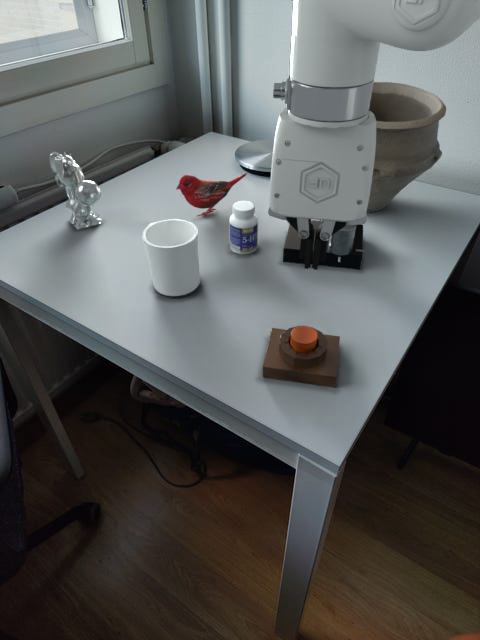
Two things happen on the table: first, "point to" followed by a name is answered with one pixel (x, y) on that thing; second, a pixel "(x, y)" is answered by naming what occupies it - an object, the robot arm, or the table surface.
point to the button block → (302, 359)
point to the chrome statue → (76, 190)
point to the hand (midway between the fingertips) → (311, 262)
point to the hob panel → (331, 260)
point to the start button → (303, 339)
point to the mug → (173, 257)
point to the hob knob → (342, 240)
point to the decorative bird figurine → (205, 191)
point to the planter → (402, 138)
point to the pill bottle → (243, 228)
